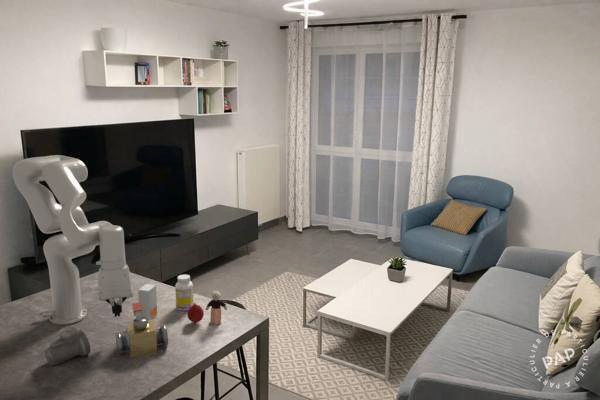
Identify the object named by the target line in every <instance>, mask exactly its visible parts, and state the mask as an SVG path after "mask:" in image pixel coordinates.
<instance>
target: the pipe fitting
mask: <svg viewBox="0 0 600 400" xmlns="http://www.w3.org/2000/svg"><path fill="white" fill-rule="evenodd" d="M58 336H59V338H57V339H55V340H53V341H51V342H50V344H49V346H48V347H45V350H44V356H45V359H46V362H47V363H48V365H50V366H52V367H54V366H56V365H59V364H62V363H63V362H65V361H67V360H70V359H72V358H74V357H76V356H86V355H88V354H90V353H91V344H90V341H89V339H88V337H87V335H86V332H84V331H83V329H77V327H76V326H71V325H70V326H66V327H63V328H62V329H60V331H59V333H58Z"/></svg>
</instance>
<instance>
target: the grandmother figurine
mask: <svg viewBox="0 0 600 400" xmlns="http://www.w3.org/2000/svg"><path fill="white" fill-rule="evenodd" d="M221 296H222V294H221V293H220V291H218V290H214V291H212V293H211V297H212V299H211V300H210V301H208V303H207V305H206V307H205V310H206V311H208V310H209V308H210V316H209V317H210V321H209V322H208V325H210V326H213V325H216V326H220V325H221V324H222V322H221V321H222V308H221V307H223V308H224V310H225V311H227V310H228V307H227V305H226V303H225V302H224V301H222V300H220V298H221Z"/></svg>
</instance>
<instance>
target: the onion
mask: <svg viewBox="0 0 600 400" xmlns="http://www.w3.org/2000/svg"><path fill="white" fill-rule="evenodd" d="M186 315H187V319H188V320H189V321H190V322H191V323H194V324H197V323H199V322H200V321H202V320H203V318H204V315H205V311H204V309H203V308H202V306H200V305H198V304H197V303H196V302H194V304H193V306H191V307H190V308H189V310H187V311H186Z"/></svg>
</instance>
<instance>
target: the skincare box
mask: <svg viewBox="0 0 600 400" xmlns="http://www.w3.org/2000/svg"><path fill="white" fill-rule="evenodd" d="M137 294H138V303H139V302H140V305H141V308H142V315H143V317H147V318H148V320H151V319H152V320H153V319H154V318H155V317H156V316H157V315H158V302H157V301H158V299H157V298H158V297H157V284H152V283H146V284H144V285H143V286H141V287H140V288H139V289H138V293H137Z"/></svg>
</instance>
